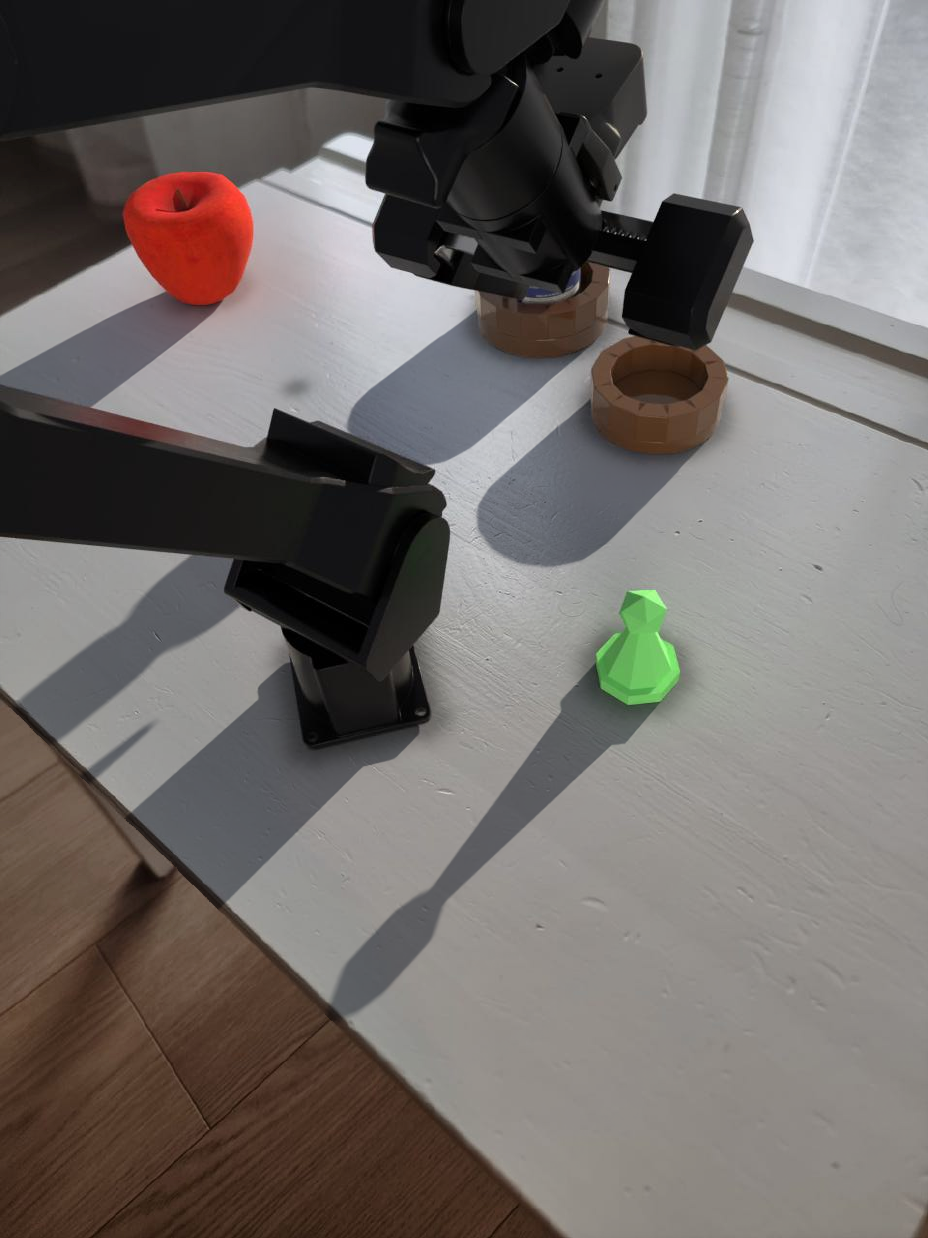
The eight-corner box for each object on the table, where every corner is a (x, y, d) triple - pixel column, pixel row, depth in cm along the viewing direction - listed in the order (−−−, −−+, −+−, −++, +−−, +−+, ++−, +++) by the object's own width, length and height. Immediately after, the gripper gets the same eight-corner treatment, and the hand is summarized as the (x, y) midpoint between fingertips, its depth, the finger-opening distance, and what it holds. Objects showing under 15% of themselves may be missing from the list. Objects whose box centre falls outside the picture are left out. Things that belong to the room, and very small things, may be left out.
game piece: (696, 684, 50) (710, 608, 46) (623, 719, 49) (631, 646, 45) (648, 626, 53) (658, 549, 48) (578, 658, 52) (581, 583, 47)
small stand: (742, 438, 62) (750, 400, 59) (613, 466, 61) (615, 428, 58) (693, 361, 67) (698, 322, 64) (573, 386, 66) (573, 348, 64)
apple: (287, 267, 77) (265, 169, 71) (227, 332, 72) (198, 232, 66) (191, 249, 80) (162, 152, 74) (127, 310, 75) (90, 212, 69)
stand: (625, 343, 68) (628, 298, 66) (496, 369, 68) (493, 325, 65) (584, 272, 74) (585, 228, 71) (464, 295, 73) (461, 252, 71)
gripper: (785, 4, 38) (811, 210, 53) (393, -42, 46) (508, 149, 60) (672, 273, 39) (728, 405, 53) (301, 183, 46) (437, 320, 61)
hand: (594, 309), depth 57 cm, fingers open, 9 cm apart
